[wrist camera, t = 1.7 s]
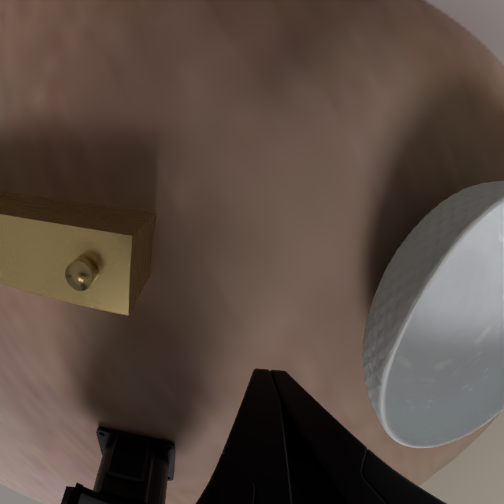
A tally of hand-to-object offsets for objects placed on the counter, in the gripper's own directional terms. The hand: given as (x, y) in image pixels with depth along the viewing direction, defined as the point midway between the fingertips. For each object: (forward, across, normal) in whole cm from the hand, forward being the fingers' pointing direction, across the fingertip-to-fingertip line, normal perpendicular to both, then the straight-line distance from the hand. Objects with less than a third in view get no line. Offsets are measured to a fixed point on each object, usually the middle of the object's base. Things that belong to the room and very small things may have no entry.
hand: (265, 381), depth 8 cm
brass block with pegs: (+9, +11, 0) cm, 14 cm away
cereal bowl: (+9, -14, 0) cm, 17 cm away
